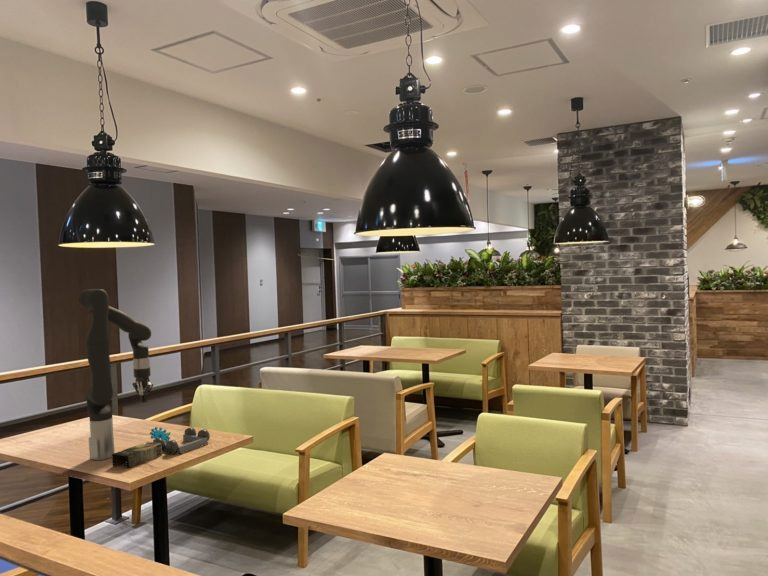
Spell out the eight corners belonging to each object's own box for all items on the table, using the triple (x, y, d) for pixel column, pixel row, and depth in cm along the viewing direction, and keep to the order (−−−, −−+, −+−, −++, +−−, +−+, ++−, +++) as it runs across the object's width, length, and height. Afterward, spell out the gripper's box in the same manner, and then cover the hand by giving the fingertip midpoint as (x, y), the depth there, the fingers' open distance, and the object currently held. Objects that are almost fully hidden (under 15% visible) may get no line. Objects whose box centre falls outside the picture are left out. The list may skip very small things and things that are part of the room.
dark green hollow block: (148, 452, 265) (147, 439, 264) (164, 454, 261) (164, 441, 260) (111, 467, 247) (110, 453, 246) (128, 470, 243) (127, 455, 242)
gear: (156, 444, 271) (147, 427, 275) (150, 452, 272) (141, 435, 277) (176, 441, 280) (167, 424, 284) (169, 448, 282) (161, 432, 286)
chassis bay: (176, 455, 258) (175, 442, 258) (152, 451, 266) (152, 438, 265) (211, 442, 275) (210, 430, 275) (188, 438, 283) (187, 426, 283)
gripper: (126, 367, 282) (128, 403, 283) (144, 369, 276) (146, 405, 276) (139, 365, 289) (141, 399, 289) (157, 366, 282) (159, 401, 283)
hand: (143, 402), depth 283 cm, fingers closed
